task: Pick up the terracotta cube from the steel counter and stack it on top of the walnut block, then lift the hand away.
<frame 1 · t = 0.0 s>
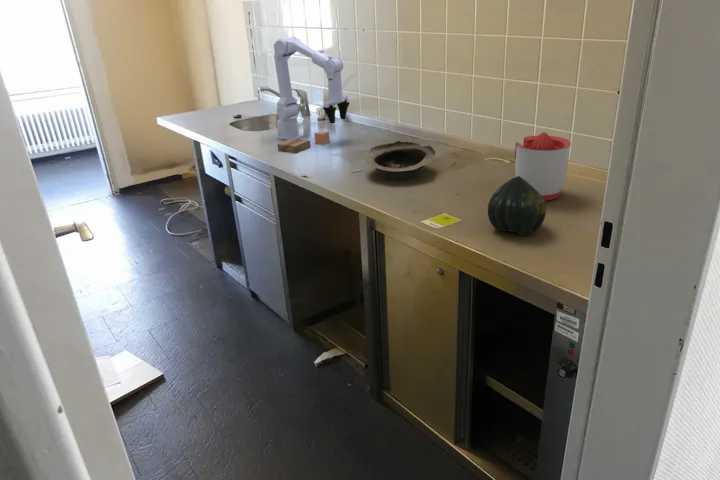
hand: (337, 121, 232), 10 cm above the worktop, fingers open, 7 cm apart
terracotta cube: (322, 143, 239), on the worktop
citrus juicer: (535, 195, 169), on the worktop
walnut block: (294, 150, 234), on the worktop
squash: (514, 229, 148), on the worktop
stone bowl: (400, 174, 195), on the worktop
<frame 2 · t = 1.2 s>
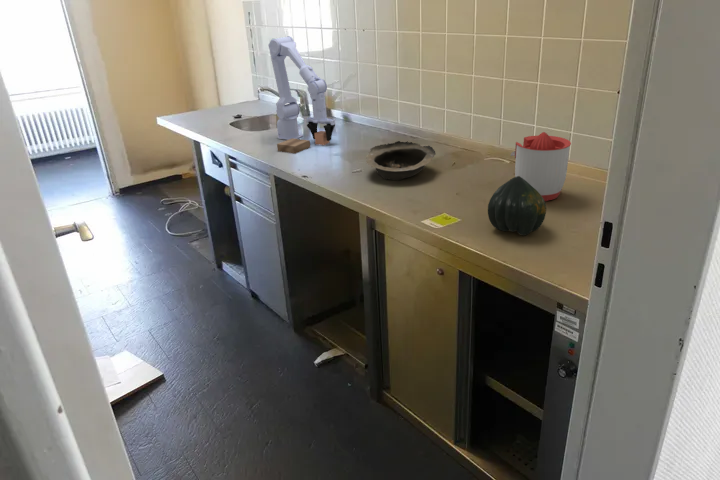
hand: (322, 139, 238), 2 cm above the worktop, fingers open, 7 cm apart
nothing on the worktop moved.
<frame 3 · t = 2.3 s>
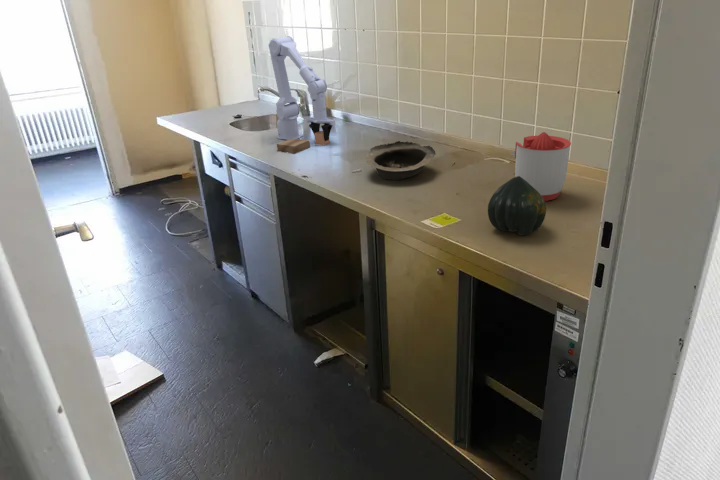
hand: (322, 139, 239), 2 cm above the worktop, fingers closed on terracotta cube, 4 cm apart
terracotta cube: (322, 143, 239), on the worktop, touching gripper
everything else where it was.
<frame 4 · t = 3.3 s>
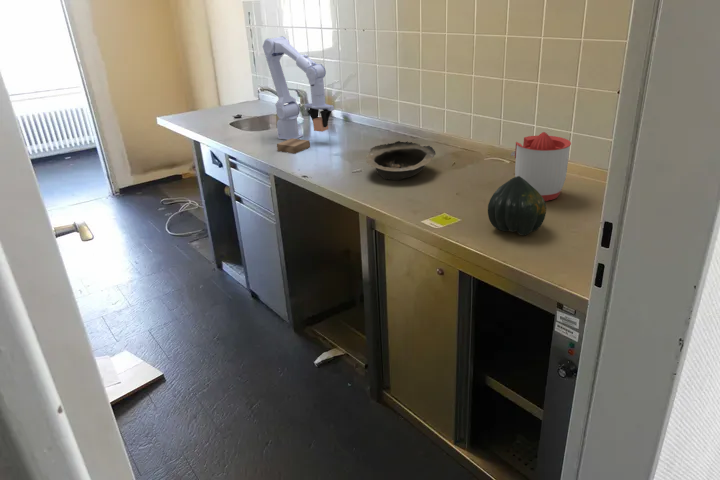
hand: (320, 126, 236), 8 cm above the worktop, fingers closed on terracotta cube, 4 cm apart
terracotta cube: (321, 129, 237), point 6 cm above the worktop, touching gripper
everything else where it was.
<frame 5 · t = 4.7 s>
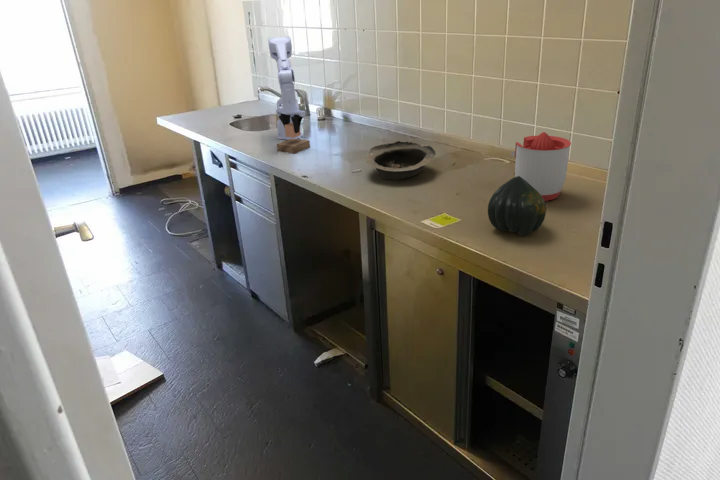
hand: (292, 132, 230), 7 cm above the worktop, fingers closed on terracotta cube, 4 cm apart
terracotta cube: (293, 135, 231), point 6 cm above the worktop, touching gripper
everything else where it was.
when the fingers open (7 cm above the worktop, at t = 5.7 s): terracotta cube drops 2 cm, point 3 cm above the worktop.
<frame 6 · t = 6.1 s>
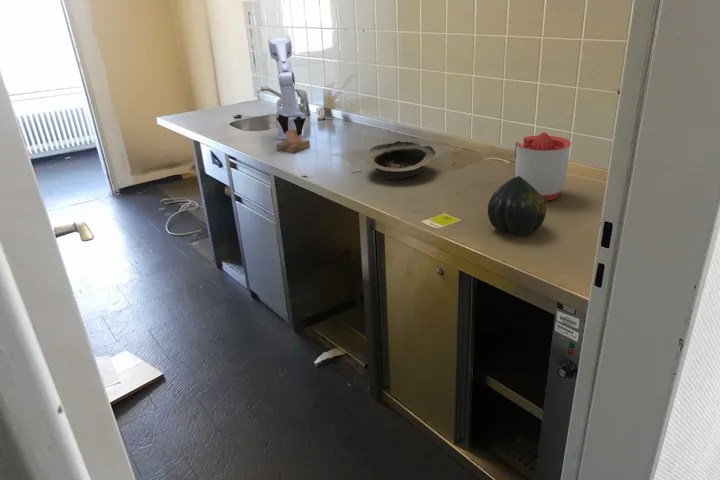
hand: (292, 134, 231), 7 cm above the worktop, fingers open, 7 cm apart
terracotta cube: (294, 142, 232), point 3 cm above the worktop
everything else where it was.
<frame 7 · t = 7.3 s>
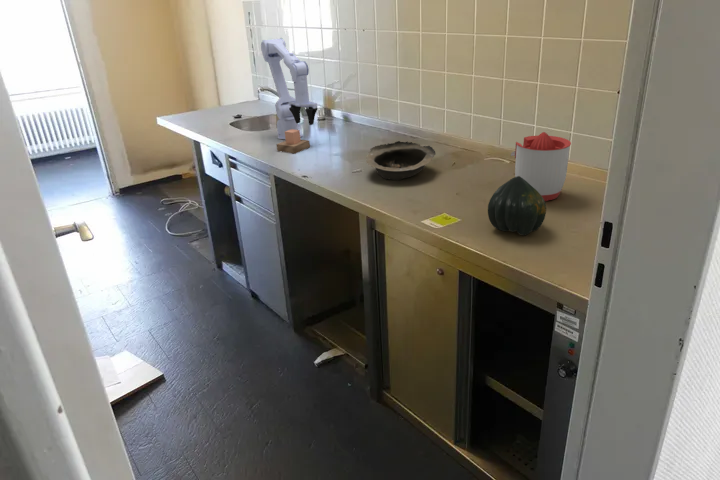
hand: (304, 123, 235), 9 cm above the worktop, fingers open, 7 cm apart
terracotta cube: (293, 142, 232), point 3 cm above the worktop, touching walnut block
walnut block: (293, 150, 234), on the worktop, touching terracotta cube
everything else where it was.
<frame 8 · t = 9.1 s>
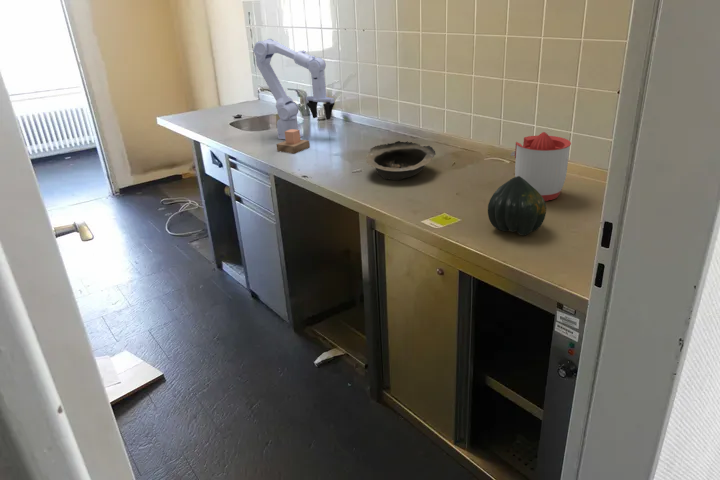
hand: (321, 118, 242), 9 cm above the worktop, fingers open, 7 cm apart
nothing on the worktop moved.
at the end: terracotta cube 0.2 cm off-centre on the walnut block, point 3.5 cm above the walnut block's base; terracotta cube tilted 0°; the gripper is holding nothing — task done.
